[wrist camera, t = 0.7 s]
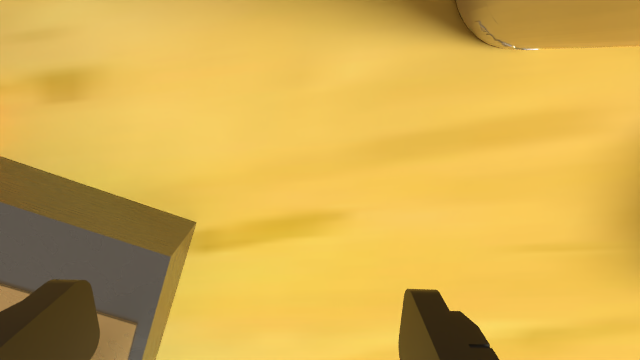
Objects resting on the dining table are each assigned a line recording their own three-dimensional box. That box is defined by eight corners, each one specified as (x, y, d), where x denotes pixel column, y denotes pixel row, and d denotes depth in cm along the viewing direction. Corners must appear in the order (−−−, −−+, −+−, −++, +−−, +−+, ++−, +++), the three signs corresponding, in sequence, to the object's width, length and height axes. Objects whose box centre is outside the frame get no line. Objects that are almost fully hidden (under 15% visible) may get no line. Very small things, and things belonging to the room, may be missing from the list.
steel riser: (-11, 153, 26) (-88, 176, 21) (196, 222, 28) (169, 258, 23) (-22, 343, 32) (-83, 394, 27) (146, 388, 34) (117, 444, 29)
